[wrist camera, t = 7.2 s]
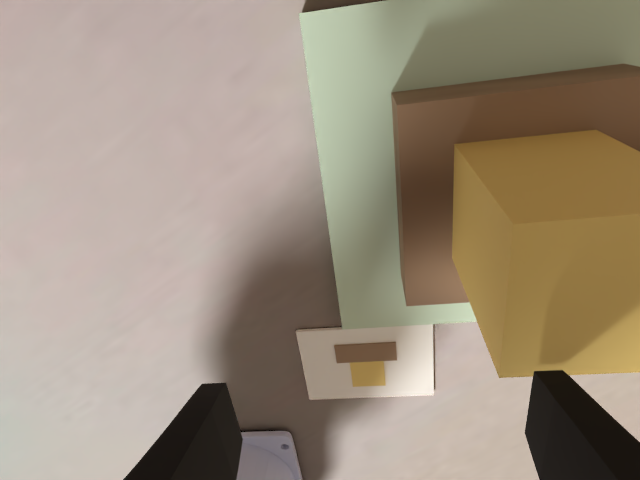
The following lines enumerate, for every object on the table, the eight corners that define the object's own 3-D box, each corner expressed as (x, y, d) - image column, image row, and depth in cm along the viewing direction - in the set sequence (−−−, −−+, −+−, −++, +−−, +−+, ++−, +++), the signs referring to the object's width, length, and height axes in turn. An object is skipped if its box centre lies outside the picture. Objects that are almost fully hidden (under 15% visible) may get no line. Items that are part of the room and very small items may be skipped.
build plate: (637, 301, 20) (647, 311, 20) (342, 319, 22) (342, 329, 21) (728, -51, 14) (748, -55, 13) (301, 12, 16) (298, 13, 15)
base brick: (587, 260, 19) (617, 292, 17) (400, 274, 20) (406, 306, 18) (623, 63, 15) (668, 72, 13) (391, 92, 16) (397, 105, 14)
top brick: (575, 249, 16) (686, 370, 11) (452, 257, 16) (499, 377, 11) (596, 129, 14) (747, 205, 8) (454, 144, 14) (513, 224, 9)
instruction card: (433, 392, 24) (434, 396, 24) (309, 397, 25) (309, 401, 25) (432, 321, 22) (433, 325, 21) (296, 329, 23) (295, 333, 22)
